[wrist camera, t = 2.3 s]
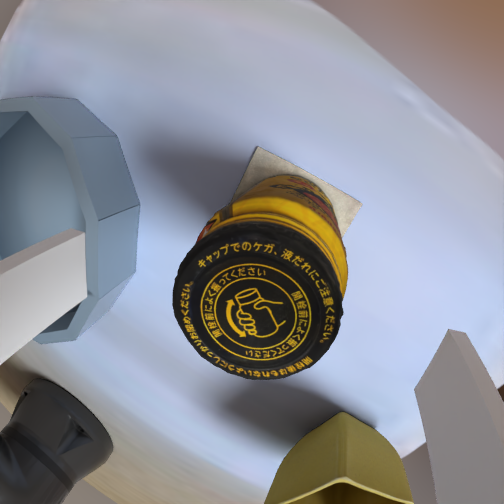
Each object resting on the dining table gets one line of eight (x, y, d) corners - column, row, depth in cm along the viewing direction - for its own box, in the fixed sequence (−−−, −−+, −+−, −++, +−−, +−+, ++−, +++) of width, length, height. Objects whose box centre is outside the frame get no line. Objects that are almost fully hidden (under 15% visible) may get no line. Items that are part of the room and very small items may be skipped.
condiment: (362, 203, 19) (419, 281, 8) (296, 308, 22) (271, 448, 11) (258, 146, 19) (177, 148, 8) (204, 258, 22) (107, 361, 11)
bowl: (134, 345, 26) (106, 378, 22) (0, 280, 29) (-30, 297, 24) (154, 101, 19) (112, 93, 14) (-3, 104, 21) (-40, 106, 17)
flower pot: (274, 434, 27) (257, 512, 18) (340, 387, 24) (341, 478, 15) (339, 466, 27) (335, 537, 19) (404, 426, 24) (417, 504, 16)
